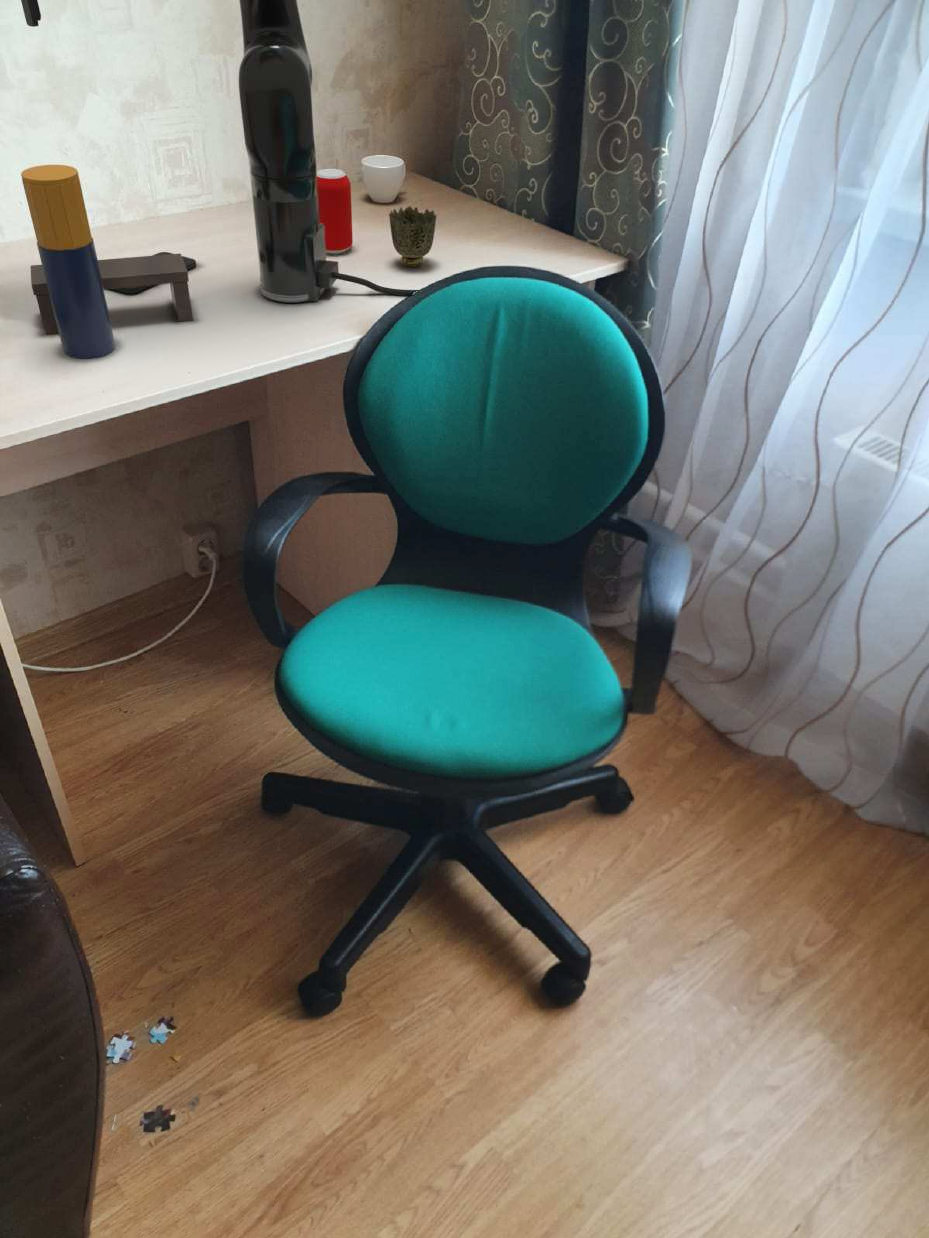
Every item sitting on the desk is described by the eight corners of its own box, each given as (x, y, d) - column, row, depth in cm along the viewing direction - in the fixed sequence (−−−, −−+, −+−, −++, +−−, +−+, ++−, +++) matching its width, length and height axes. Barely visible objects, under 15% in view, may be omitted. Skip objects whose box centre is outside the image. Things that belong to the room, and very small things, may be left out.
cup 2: (443, 262, 156) (444, 211, 150) (422, 276, 150) (423, 224, 145) (402, 253, 158) (402, 203, 153) (381, 267, 153) (380, 216, 147)
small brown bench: (188, 301, 139) (180, 253, 135) (194, 320, 134) (187, 271, 130) (42, 315, 134) (30, 265, 129) (44, 335, 129) (31, 284, 124)
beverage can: (308, 247, 158) (303, 171, 150) (338, 240, 161) (335, 165, 153) (329, 259, 155) (325, 180, 147) (360, 251, 158) (358, 174, 150)
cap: (100, 235, 119) (87, 167, 114) (76, 252, 115) (61, 182, 109) (54, 230, 120) (38, 162, 115) (28, 247, 115) (10, 177, 110)
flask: (124, 340, 129) (96, 206, 117) (101, 361, 124) (70, 223, 112) (78, 335, 129) (46, 201, 118) (53, 355, 124) (18, 217, 113)
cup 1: (353, 199, 178) (352, 161, 174) (388, 188, 184) (388, 150, 180) (385, 209, 175) (384, 170, 170) (419, 197, 181) (420, 159, 177)
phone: (199, 260, 149) (131, 290, 139) (200, 265, 150) (132, 295, 140) (162, 250, 152) (93, 279, 142) (163, 256, 152) (94, 284, 142)
